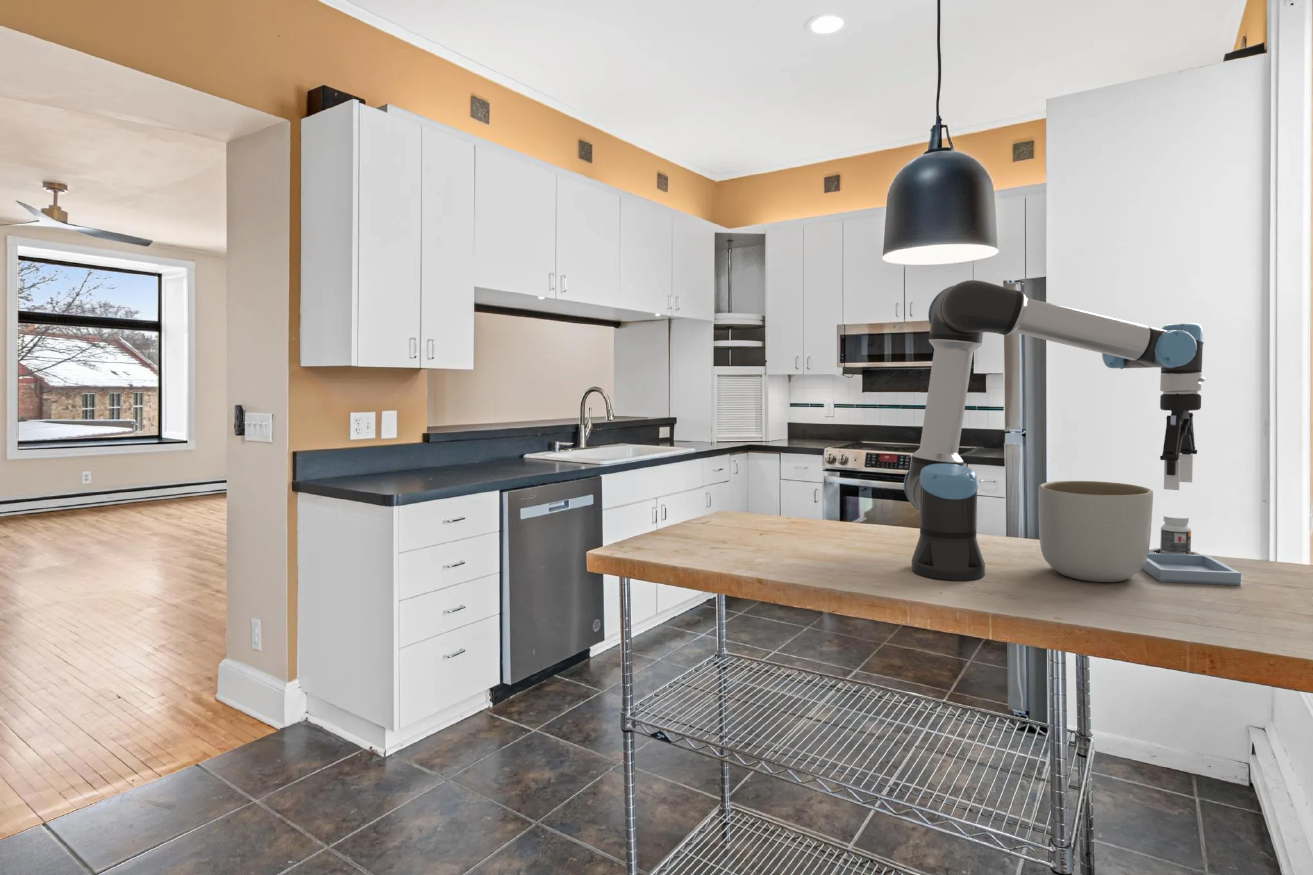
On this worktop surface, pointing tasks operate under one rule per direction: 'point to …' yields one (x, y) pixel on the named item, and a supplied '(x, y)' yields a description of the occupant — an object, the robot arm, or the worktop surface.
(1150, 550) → the ring
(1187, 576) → the tray
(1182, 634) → the worktop surface
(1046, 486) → the planter
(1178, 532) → the pill bottle
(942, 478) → the robot arm
